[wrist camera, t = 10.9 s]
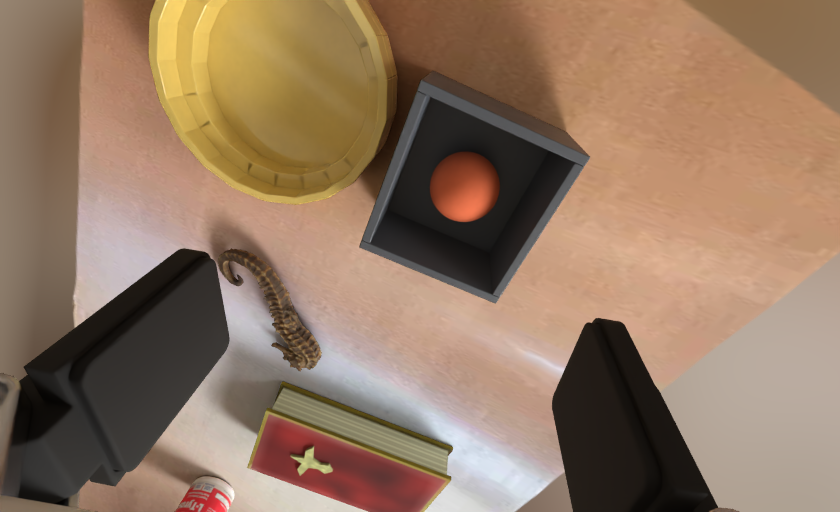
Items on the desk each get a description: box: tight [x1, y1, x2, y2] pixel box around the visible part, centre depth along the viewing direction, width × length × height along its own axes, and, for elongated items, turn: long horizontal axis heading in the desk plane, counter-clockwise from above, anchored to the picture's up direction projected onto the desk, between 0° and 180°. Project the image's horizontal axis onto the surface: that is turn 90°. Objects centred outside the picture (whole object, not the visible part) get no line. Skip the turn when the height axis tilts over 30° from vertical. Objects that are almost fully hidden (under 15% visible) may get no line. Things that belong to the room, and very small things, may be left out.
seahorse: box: [218, 248, 322, 371], centre depth 38 cm, size 6×15×2 cm, turn 22°
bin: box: [359, 71, 590, 303], centre depth 27 cm, size 11×10×6 cm
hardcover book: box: [247, 381, 453, 512], centre depth 46 cm, size 12×21×4 cm, turn 67°
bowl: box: [148, 0, 397, 205], centre depth 26 cm, size 15×15×4 cm
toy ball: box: [430, 152, 500, 222], centre depth 27 cm, size 5×5×5 cm
